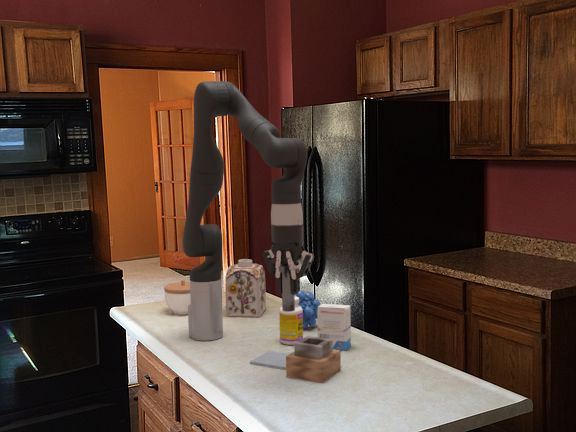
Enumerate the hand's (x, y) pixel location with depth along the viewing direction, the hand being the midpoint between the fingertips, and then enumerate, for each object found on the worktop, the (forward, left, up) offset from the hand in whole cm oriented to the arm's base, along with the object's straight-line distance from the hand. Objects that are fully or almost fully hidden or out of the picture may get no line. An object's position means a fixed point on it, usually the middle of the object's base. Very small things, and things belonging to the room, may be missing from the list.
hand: (288, 293), depth 159 cm
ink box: (0, +25, -21) cm, 33 cm away
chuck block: (+4, +4, -21) cm, 22 cm away
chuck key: (0, 0, -4) cm, 4 cm away
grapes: (-15, +37, -21) cm, 45 cm away
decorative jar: (-42, +46, -21) cm, 66 cm away
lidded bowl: (-62, +38, -21) cm, 76 cm away
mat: (-8, +8, -21) cm, 23 cm away
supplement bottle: (-13, +24, -21) cm, 34 cm away
